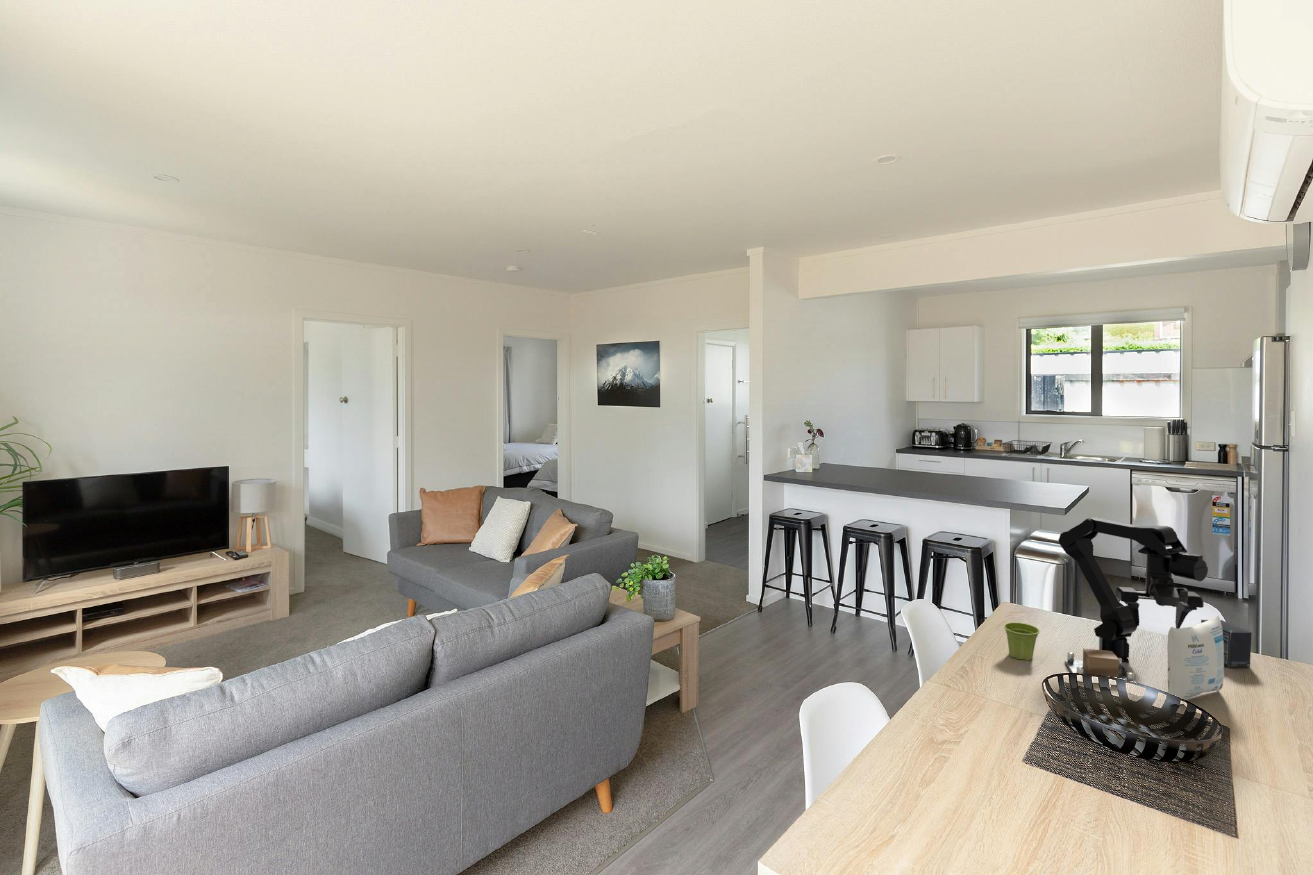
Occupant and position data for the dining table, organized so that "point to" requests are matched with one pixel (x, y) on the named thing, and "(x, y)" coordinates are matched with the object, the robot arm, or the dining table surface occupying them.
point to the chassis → (1078, 667)
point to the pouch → (1195, 659)
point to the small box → (1236, 645)
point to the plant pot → (1021, 639)
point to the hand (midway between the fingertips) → (1157, 627)
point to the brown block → (1100, 662)
